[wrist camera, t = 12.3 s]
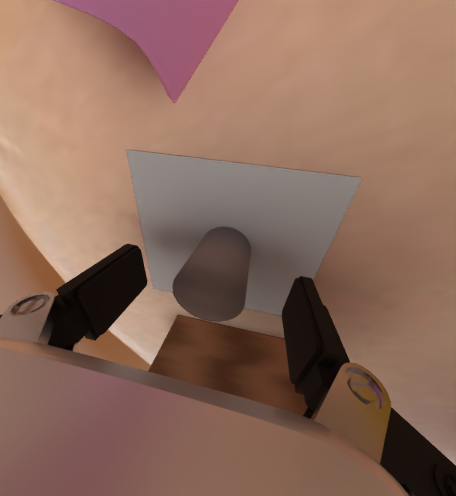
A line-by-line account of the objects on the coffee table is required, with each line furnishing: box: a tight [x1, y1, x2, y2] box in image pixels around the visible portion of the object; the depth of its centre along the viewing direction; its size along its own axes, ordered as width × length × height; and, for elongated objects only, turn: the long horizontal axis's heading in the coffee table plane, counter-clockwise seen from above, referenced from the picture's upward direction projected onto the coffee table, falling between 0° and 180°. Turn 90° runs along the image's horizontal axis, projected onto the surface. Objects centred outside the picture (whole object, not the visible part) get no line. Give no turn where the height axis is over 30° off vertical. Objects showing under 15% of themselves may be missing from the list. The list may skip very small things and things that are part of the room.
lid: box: [126, 150, 362, 321], centre depth 11 cm, size 14×12×6 cm
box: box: [148, 315, 307, 416], centre depth 18 cm, size 14×12×7 cm
